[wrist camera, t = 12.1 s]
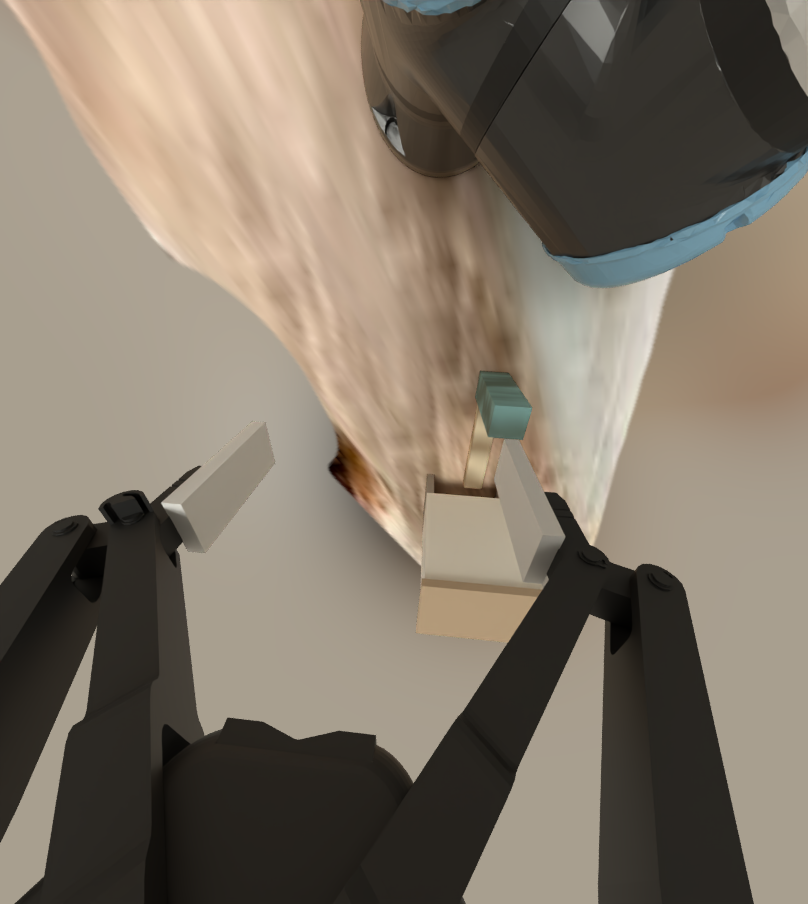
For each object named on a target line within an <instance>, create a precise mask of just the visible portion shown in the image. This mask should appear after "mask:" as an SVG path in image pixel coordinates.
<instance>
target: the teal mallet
mask: <svg viewBox="0 0 808 904" xmlns="http://www.w3.org/2000/svg"><path fill="white" fill-rule="evenodd" d="M475 398H476V401H477V409H476V415H475V420H474V425H473V431H472V436H471V441H470V447H469V452H468V457H467V463H466V468H465V473H464V479H463V484H464V488H475V489H481V488H482V484H483V480H484V475H485V471H486V467H487V463H488V458H489V454H490V450H491V445H492V441H493V438H505V439H519V440H523V438H524V434H525V431H526V428H527V424H528V421H529V418H530V414H531V411H532V407H531V405H530V404H529V402H528V401H527V399H526V398H525V396H524V395H523V393H522V392H521V391H520V389H519V388H518V386H517V385H516V383H515V382H514V380H513V379H512V377H511V376H510V374H509V373H504V372H488V371H480V374H479V380H478V385H477V391H476V396H475Z"/></svg>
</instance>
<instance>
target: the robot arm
mask: <svg viewBox="0 0 808 904" xmlns="http://www.w3.org/2000/svg"><path fill="white" fill-rule="evenodd" d="M360 2H361V6H362V9H363V13H364V14H363V22H362V35H361V58H362V71H363V79H364V85H365V90H366V95H367V99H368V102H369V106H370V109H371V112H372V114H373V117H374V120H375V122H376V125H377V127H378V129H379V131H380V133H381V135H382V137H383V139H384V141H385V142H386V144H387V145H388V147H389V148H390V150H391V151H392V152H393V153H394V155H395V156H396V157H397V158H398V159H399V160H400V161H401V162H402V163H404V164H405V165H406V166H407V167H409V168H411V169H412V170H414V171H416V172H418V173H421V174H423V175H427V176H432V177H448V176H453V175H457V174H460V173H462V172H465V171H467V170H469V169H470V168H472V167H474V166H475V165H477V164H478V163H479V162H480V163H481V165H482V166H483V167H484V168H485V170H486V171H487V172H488V174H489V175H490V176H491V177H492V179H493V180H494V181H495V182H496V184H497V185H498V186H499V187H500V189H501V190H502V191H503V193H504V194H505V195H506V196H507V198H508V199H509V200H510V201H511V203H512V204H513V205H514V207H515V208H516V209H517V210H518V212H519V213H520V214H521V215H522V217H523V218H524V219H525V221H526V222H527V223H528V224H529V226H530V227H531V228H532V229H533V231H534V232H535V233H536V235H537V236H538V237H539V238H540V240H541V241H542V246H543V248H544V250H545V252H546V253H547V255H548V256H550V257H552V258H553V259H554V260H556V261H558V262H559V263H560V264H561V265H562V266H563V267H564V269H565V270H566V271H567V272H568V273H569V274H570V275H571V276H572V278H573V279H574V280H576V281H577V282H579V283H581V284H583V285H585V286H589V287H593V288H612V287H619V286H624V285H628V284H632V283H636V282H639V281H642V280H645V279H648V278H651V277H654V276H656V275H659V274H661V273H664V272H666V271H668V270H671V269H673V268H675V267H677V266H680V265H682V264H684V263H686V262H688V261H690V260H692V259H694V258H696V257H697V256H699V255H701V254H703V253H704V252H706V251H708V250H710V249H712V248H713V247H715V246H717V245H718V244H720V243H722V242H723V241H724V238H725V234H726V233H727V232H729V231H732V230H734V229H736V228H739V227H743V226H746V225H749V224H751V223H752V222H754V221H755V220H756V219H758V218H759V217H760V216H761V215H763V214H764V213H765V212H767V211H768V210H769V209H771V208H772V207H773V206H774V205H775V204H776V203H778V202H779V201H780V200H781V199H782V198H783V197H784V196H785V195H786V194H787V193H788V192H789V191H790V190H791V189H792V188H793V187H794V186H795V185H796V184H797V183H798V182H799V181H800V180H801V179H802V178H803V177H804V175H805V174H806V173H807V171H808V0H360ZM274 464H275V459H274V456H273V451H272V447H271V443H270V439H269V435H268V431H267V427H266V423H265V422H255V421H252V422H251V423H250V424H249V425H247V426H246V427H245V428H244V429H243V430H242V431H241V432H240V433H238V434H237V435H236V436H235V437H234V438H233V439H232V440H231V441H230V442H228V443H227V444H226V445H225V446H224V447H223V448H222V449H220V450H219V451H218V452H217V453H216V454H215V455H214V456H213V457H212V458H210V459H209V460H208V461H207V462H206V463H205V464H204V465H203V466H197V467H195V468H193V469H192V470H190V471H188V472H186V473H185V474H184V475H183V476H182V477H181V478H180V479H179V480H178V481H176V482H175V483H174V484H172V487H169V488H168V489H167V490H166V491H165V492H163V493H162V494H161V495H160V496H159V497H157V498H156V499H155V500H154V501H153V502H152V503H149V501H148V500H147V498H146V496H145V494H144V493H143V492H142V491H139V490H131V491H126V492H122V493H119V494H117V495H114V496H112V497H110V498H109V499H107V500H106V501H104V502H103V503H102V504H101V505H100V507H99V511H100V512H101V513H102V514H103V516H104V517H105V519H106V520H107V522H105V523H98V524H93V523H92V522H91V521H90V519H89V518H88V517H87V516H83V515H77V516H71V517H68V518H64V519H61V520H59V521H57V522H55V523H53V524H52V525H50V526H49V527H47V528H46V529H45V530H44V531H43V532H41V534H40V535H39V536H38V538H37V539H36V540H35V541H34V543H33V544H32V545H31V546H30V548H29V549H28V550H27V552H26V553H25V554H24V555H23V557H22V558H21V559H20V561H19V562H18V563H17V564H16V566H15V567H14V568H13V569H12V571H11V572H10V573H9V575H8V576H7V577H6V578H5V580H4V581H3V582H2V583H1V585H0V842H1V840H2V839H3V836H4V834H5V832H6V830H7V828H8V826H9V824H10V821H11V820H12V818H13V816H14V814H15V812H16V809H17V807H18V805H19V803H20V800H21V798H22V796H23V794H24V791H25V789H26V787H27V785H28V782H29V780H30V777H31V775H32V773H33V771H34V768H35V766H36V764H37V762H38V759H39V757H40V755H41V753H42V750H43V748H44V746H45V743H46V741H47V739H48V737H49V734H50V732H51V730H52V727H53V725H54V723H55V721H56V718H57V716H58V714H59V711H60V709H61V707H62V704H63V702H64V700H65V697H66V695H67V693H68V691H69V688H70V686H71V684H72V681H73V679H74V677H75V675H76V672H77V670H78V668H79V666H80V663H81V661H82V659H83V656H84V654H85V652H86V650H87V647H88V645H89V643H90V640H91V638H92V636H93V633H94V631H95V629H96V627H97V633H96V640H95V648H94V657H93V664H92V672H91V681H90V688H89V697H88V703H87V711H86V715H85V717H84V719H83V720H82V721H80V722H78V723H77V724H75V725H73V727H72V729H71V730H70V732H69V733H68V738H67V741H66V744H65V751H64V757H63V763H62V769H61V775H60V782H59V788H58V795H57V800H56V807H55V813H54V820H53V825H52V832H51V838H50V844H49V850H48V856H47V863H46V869H45V875H44V877H43V878H42V879H41V880H40V881H39V882H38V883H37V884H35V885H34V886H33V887H32V888H31V889H30V890H29V891H28V892H27V893H26V894H25V895H24V896H22V897H21V898H20V899H19V900H18V901H17V902H16V903H15V904H465V901H464V899H463V897H462V896H463V894H464V892H465V890H466V887H467V885H468V883H469V881H470V879H471V876H472V874H473V872H474V870H475V868H476V866H477V863H478V861H479V859H480V857H481V854H482V852H483V850H484V848H485V846H486V844H487V841H488V839H489V837H490V835H491V833H492V831H493V828H494V826H495V824H496V822H497V820H498V817H499V815H500V813H501V811H502V809H503V807H504V804H505V802H506V800H507V798H508V795H509V793H510V791H511V789H512V786H513V783H514V780H515V776H516V772H517V769H518V766H519V764H520V762H521V760H522V758H523V755H524V753H525V751H526V749H527V747H528V745H529V743H530V740H531V738H532V736H533V734H534V732H535V730H536V728H537V725H538V723H539V721H540V719H541V717H542V715H543V713H544V710H545V708H546V706H547V704H548V702H549V700H550V698H551V695H552V693H553V691H554V689H555V686H556V685H557V682H558V680H559V678H560V676H561V674H562V672H563V669H564V667H565V665H566V663H567V661H568V659H569V657H570V655H571V652H572V650H573V648H574V646H575V644H576V641H577V639H578V637H579V635H580V633H581V631H582V629H583V627H584V625H585V622H586V620H587V618H588V616H589V614H591V615H593V616H596V617H598V618H601V619H604V620H605V646H604V647H605V649H604V684H603V685H604V686H603V689H604V690H603V724H602V725H603V726H602V760H601V798H600V802H601V803H600V836H599V875H598V900H599V901H598V903H599V904H754V903H753V898H752V894H751V889H750V885H749V880H748V875H747V871H746V866H745V862H744V858H743V853H742V848H741V843H740V839H739V835H738V830H737V825H736V821H735V816H734V811H733V807H732V802H731V798H730V793H729V789H728V784H727V780H726V775H725V770H724V766H723V761H722V757H721V752H720V747H719V743H718V738H717V734H716V730H715V725H714V720H713V716H712V711H711V706H710V702H709V697H708V693H707V688H706V684H705V679H704V674H703V670H702V665H701V661H700V656H699V652H698V648H697V643H696V638H695V633H694V629H693V624H692V620H691V616H690V611H689V606H688V601H687V597H686V592H685V590H684V587H683V585H682V583H681V582H680V581H679V580H678V579H677V578H676V577H675V576H673V575H672V574H671V573H669V572H668V571H667V570H665V569H663V568H661V567H659V566H655V565H652V564H642V565H640V566H638V567H637V569H636V570H635V571H634V570H631V569H628V568H625V567H622V566H619V565H616V564H613V563H611V562H609V560H608V558H607V557H606V556H605V554H604V553H603V552H602V551H600V550H599V549H597V548H596V547H594V546H591V545H589V543H588V541H587V540H586V538H585V536H584V534H583V532H582V531H581V529H580V527H579V525H578V523H577V521H576V520H575V519H574V516H573V514H572V512H571V511H570V509H569V507H568V505H567V503H566V502H565V500H564V499H562V498H561V497H560V496H559V495H558V494H557V493H552V492H544V491H543V489H542V487H541V485H540V483H539V481H538V479H537V477H536V475H535V473H534V470H533V468H532V466H531V464H530V462H529V460H528V458H527V456H526V454H525V452H524V450H523V448H522V446H521V443H520V441H519V440H514V439H504V442H503V446H502V450H501V454H500V458H499V462H498V465H497V469H496V473H495V477H494V481H495V485H496V488H497V492H498V496H499V499H500V503H501V506H502V510H503V513H504V517H505V520H506V524H507V527H508V531H509V535H510V538H511V542H512V545H513V549H514V552H515V556H516V559H517V563H518V567H519V570H520V574H521V577H522V581H523V582H525V583H536V584H543V582H544V580H545V578H546V576H548V579H549V580H548V582H547V583H546V585H545V586H544V588H543V589H542V591H541V593H540V594H539V596H538V597H537V599H536V600H535V602H534V603H533V605H532V606H531V608H530V609H529V611H528V613H527V614H526V616H525V617H524V619H523V620H522V622H521V623H520V625H519V626H518V628H517V629H516V631H515V633H514V634H513V636H512V637H511V639H510V640H509V642H508V643H507V645H506V646H505V648H504V649H503V651H502V653H501V654H500V656H499V657H498V659H497V660H496V662H495V663H494V665H493V666H492V668H491V669H490V671H489V673H488V674H487V676H486V677H485V679H484V680H483V682H482V683H481V685H480V686H479V688H478V690H477V691H476V693H475V694H474V696H473V697H472V699H471V700H470V702H469V703H468V705H467V706H466V708H465V709H464V711H463V712H462V713H461V714H460V715H459V716H458V718H457V719H456V720H455V722H454V723H453V724H452V726H451V727H450V729H449V730H448V732H447V734H446V735H445V736H444V738H443V739H442V741H441V742H440V744H439V746H438V747H437V749H436V750H435V752H434V753H433V755H432V756H431V758H430V759H429V761H428V762H427V764H426V765H425V767H424V769H423V770H422V772H421V773H420V775H419V776H418V778H417V779H416V781H415V782H414V783H413V782H412V780H411V778H410V776H409V775H408V773H407V772H406V770H405V769H404V768H403V766H402V765H401V764H400V762H398V760H397V759H396V758H395V757H393V755H391V754H390V753H389V752H387V751H386V750H385V749H383V748H381V747H379V746H377V745H376V735H369V734H361V733H353V732H343V731H336V732H332V733H327V734H323V735H318V736H315V737H309V738H305V739H300V740H297V739H293V738H292V737H290V736H288V735H286V734H284V733H283V732H281V731H279V730H277V729H275V728H273V727H272V726H270V725H268V724H266V723H264V722H260V721H251V720H243V719H235V718H227V720H226V722H225V725H224V727H223V729H221V730H218V731H215V732H213V733H210V734H208V735H206V736H204V732H203V729H202V727H201V724H200V722H199V719H198V715H197V710H196V700H195V692H194V682H193V674H192V664H191V655H190V646H189V637H188V628H187V619H186V610H185V601H184V592H183V583H182V574H181V565H180V556H179V553H178V551H177V550H176V549H177V548H178V546H179V545H180V544H181V543H182V542H183V543H184V545H185V547H186V549H187V551H188V552H199V553H206V552H207V551H208V549H209V548H210V547H211V545H212V544H213V543H214V541H215V540H216V539H217V538H218V536H219V535H220V534H221V532H222V531H223V530H224V528H225V527H226V526H227V525H228V523H229V522H230V521H231V519H232V518H233V517H234V516H235V514H236V513H237V512H238V510H239V509H240V508H241V506H242V505H243V504H244V503H245V501H246V500H247V499H248V497H249V496H250V495H251V494H252V492H253V491H254V490H255V488H256V487H257V486H258V484H259V483H260V482H261V480H262V479H263V478H264V477H265V475H266V474H267V473H268V472H269V470H270V469H271V468H272V466H273V465H274ZM71 575H72V576H71Z"/></svg>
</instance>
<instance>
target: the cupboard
mask: <svg viewBox="0 0 808 904" xmlns="http://www.w3.org/2000/svg"><path fill="white" fill-rule="evenodd" d="M542 589H543V586H542V584H536V583H525V582H523V581H522V577H521V574H520V570H519V567H518V563H517V559H516V556H515V552H514V549H513V545H512V542H511V538H510V535H509V531H508V527H507V524H506V520H505V517H504V513H503V510H502V506H501V503H500V499H499V496H498V492H496V496H495V498H486V497H474V496H462V495H449V494H437V493H434V475H429V474H427V482H426V492H425V502H424V512H423V535H422V564H421V589H420V598H419V607H418V616H417V624H416V633H419V634H429V635H439V636H449V637H458V638H468V639H478V640H487V641H497V642H507V643H508V642H509V640H510V639H511V637H512V636H513V634H514V633H515V631H516V629H517V628H518V626H519V625H520V623H521V622H522V620H523V619H524V617H525V616H526V614H527V613H528V611H529V609H530V608H531V606H532V605H533V603H534V602H535V600H536V599H537V597H538V596H539V594H540V593H541V591H542Z"/></svg>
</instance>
